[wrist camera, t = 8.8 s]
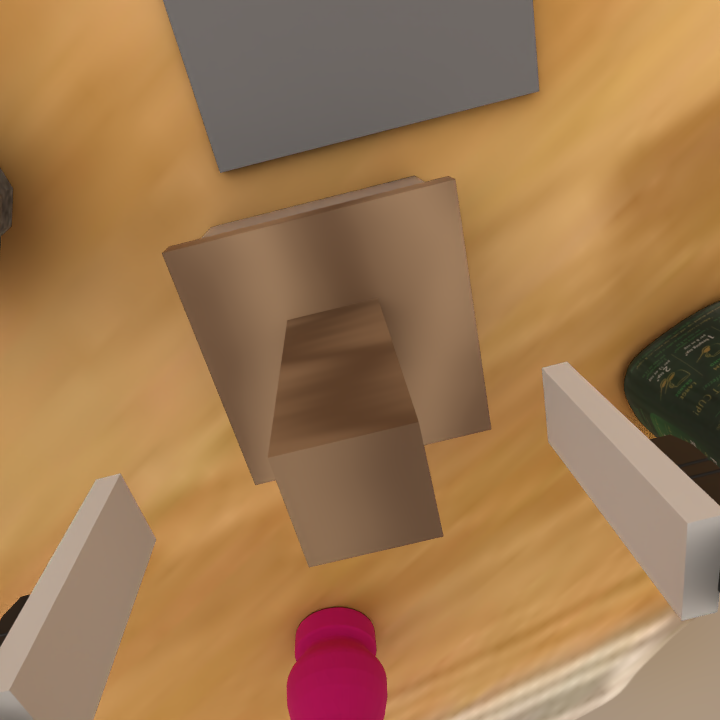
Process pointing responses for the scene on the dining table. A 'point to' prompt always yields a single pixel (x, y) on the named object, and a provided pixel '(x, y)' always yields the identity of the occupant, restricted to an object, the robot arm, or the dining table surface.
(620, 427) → the robot arm
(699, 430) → the coffee jar
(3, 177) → the mortar and pestle
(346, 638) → the pepper mill
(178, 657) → the dining table surface
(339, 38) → the mat
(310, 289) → the lid
